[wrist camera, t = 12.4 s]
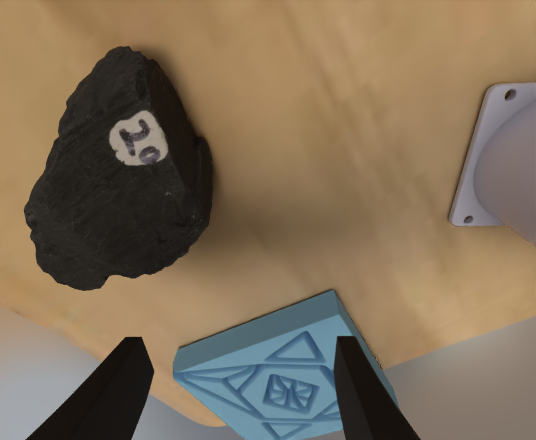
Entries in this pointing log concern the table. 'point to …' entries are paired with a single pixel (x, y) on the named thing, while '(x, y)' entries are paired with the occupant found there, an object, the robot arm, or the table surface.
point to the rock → (120, 178)
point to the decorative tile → (274, 371)
